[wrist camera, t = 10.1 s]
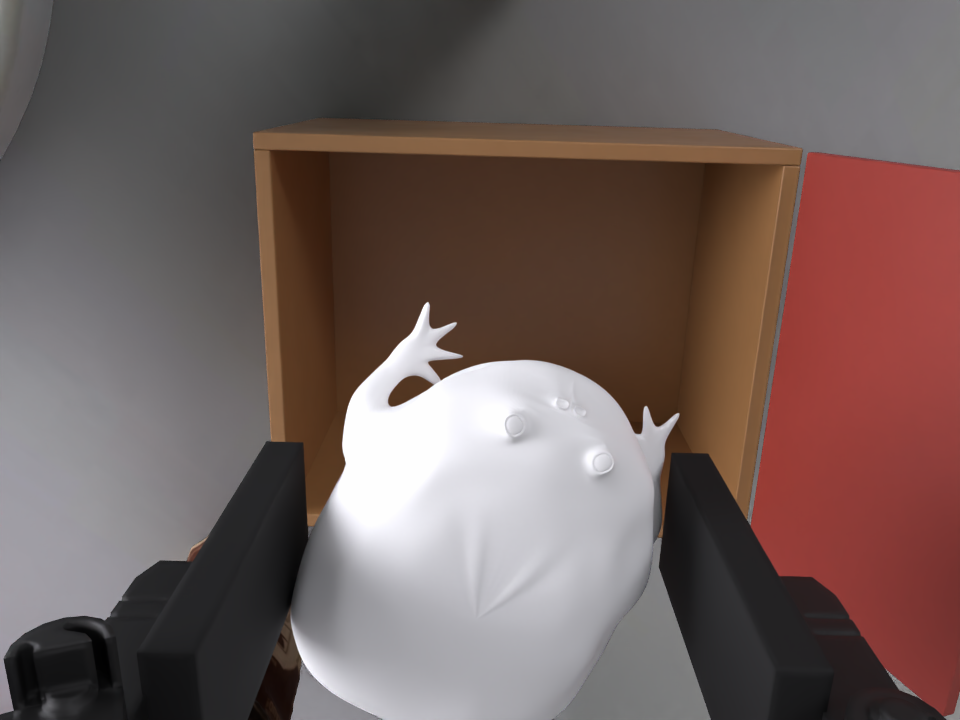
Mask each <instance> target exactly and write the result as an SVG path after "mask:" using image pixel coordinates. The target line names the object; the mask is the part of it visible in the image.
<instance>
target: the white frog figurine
mask: <svg viewBox="0 0 960 720" xmlns="http://www.w3.org/2000/svg"><path fill="white" fill-rule="evenodd" d="M429 311H430V305H429V303H428V302H427V303H426V304H425V305H424V307H423V309H422V312H421V314H420V317H419V319H418V321H417V324H416V326H415V328H414V330H413V332H412V333H411V334H410V335H409V336H408V337H407V338H405V339H404V340H403V341H402V342H401V343H400V344H399V345H398V346H397V347H396V348H395V349H394V351H393V352H392V353H391V355H390V356H389V357H388V359H387V360H386V361H385V362H384V363H383V364H381V365H380V366H379V367H378V368H377V369H376V370H375V371H374V372H373V373H372V374H371V375H370V376H369V377H368V378H367V379H366V380H365V381H364V382H363V383H362V384H361V385H360V386H359V387H358V389H357V390H356V391H355V393H354V394H353V396H352V398H351V400H350V403H349V406H348V409H347V414H346V419H345V425H344V432H343V442H342V448H343V454H344V457H345V462H346V465H345V467H344V471H343V473H342V474H341V476H340V478H339V480H338V481H337V483H336V485H335V487H334V489H333V491H332V493H331V495H330V497H329V499H328V501H327V503H326V504H325V506H324V508H323V510H322V511H321V513H320V515H319V517H318V519H317V521H316V523H315V525H314V527H313V530H312V532H311V534H310V537H309V539H308V542H307V545H306V548H305V551H304V554H303V557H302V560H301V564H300V567H299V571H298V575H297V579H296V583H295V587H294V591H293V596H292V601H291V625H292V630H293V635H294V639H295V642H296V645H297V648H298V651H299V654H300V656H301V658H302V660H303V662H304V664H305V665H306V667H307V668H308V670H309V671H310V672H311V674H312V675H313V676H314V677H315V678H316V679H317V680H318V681H319V682H320V683H321V684H322V685H323V686H324V687H325V688H327V689H328V690H329V691H331V692H332V693H333V694H335V695H336V696H338V697H340V698H341V699H343V700H345V701H346V702H348V703H350V704H352V705H354V706H356V707H358V708H360V709H362V710H365V711H367V712H369V713H371V714H373V715H375V716H377V717H379V718H382V719H384V720H552V719H554V718H555V717H556V716H557V715H558V714H560V713H561V712H562V711H563V710H564V709H565V708H566V707H567V706H568V705H569V704H570V702H571V701H572V700H573V699H574V697H575V696H576V695H577V693H578V692H579V690H580V688H581V687H582V685H583V684H584V682H585V680H586V679H587V677H588V676H589V674H590V672H591V671H592V669H593V668H594V666H595V664H596V663H597V661H598V660H599V658H600V656H601V655H602V653H603V651H604V649H605V647H606V646H607V644H608V642H609V640H610V637H611V635H612V633H613V631H614V629H615V628H616V626H617V624H618V623H619V622H620V620H621V619H622V618H623V617H624V616H625V615H626V614H627V612H628V611H629V610H630V609H631V608H632V607H633V606H634V605H635V603H636V602H637V601H638V600H639V598H640V597H641V595H642V593H643V591H644V589H645V587H646V585H647V582H648V579H649V575H650V570H651V564H652V555H653V544H654V542H655V540H656V539H657V537H658V535H659V533H660V530H661V526H662V502H661V487H660V477H661V473H662V469H663V464H664V459H665V448H664V447H665V442H666V439H667V437H668V435H669V433H670V432H671V430H672V428H673V427H674V425H675V423H676V421H677V420H678V418H679V415H680V414H679V413H677V414H675V415H674V416H673V417H671V418H670V419H669V420H668V421H667V422H666V423H664V424H663V425H661V426H659V427H656V426H655V425H654V423H653V421H652V419H651V416H650V412H649V410H648V407H647V406H645V407H644V411H643V429H642V433H641V434H635V433H634V431H633V429H632V427H631V425H630V423H629V421H628V419H627V417H626V415H625V413H624V412H623V410H622V409H621V407H620V406H619V404H618V403H617V402H616V401H615V400H614V398H613V397H612V396H611V395H610V394H609V393H608V392H607V391H605V390H604V389H603V388H602V387H601V386H599V385H598V384H596V383H595V382H593V381H592V380H590V379H588V378H587V377H585V376H583V375H581V374H579V373H577V372H575V371H572V370H570V369H568V368H565V367H562V366H559V365H556V364H552V363H548V362H543V361H536V360H516V361H497V362H489V363H484V364H479V365H475V366H472V367H469V368H466V369H463V370H461V371H459V372H456V373H454V374H452V375H450V376H448V377H446V378H444V379H443V380H440V378H439V376H438V375H437V374H436V372H435V371H434V370H433V369H432V368H431V367H430V365H429V364H428V362H429V361H433V360H446V359H458V358H462V357H463V356H462V355H460V354H456V353H452V352H448V351H445V350H442V349H440V348H438V347H437V346H436V343H437V342H438V341H439V339H441V338H442V337H443V336H444V335H446V334H447V333H448V332H449V331H451V330H452V329H453V328H454V327H455V326H456V324H457V323H456V322H455V323H451V324H449V325H446V326H444V327H441V328H437V329H432V328H431V327H430V325H429ZM413 375H416V376H420V377H422V378H424V379H426V380H428V381H429V382H431V383H432V384H434V385H433V386H432V387H431V388H429V389H428V390H427V391H425V392H423V393H421V394H420V395H418V396H416V397H414V398H413V399H411V400H409V401H407V402H405V403H403V404H401V405H398V406H394V407H391V406H389V404H388V398H389V395H390V393H391V392H392V390H393V389H394V388H395V387H396V386H397V384H398V383H399V382H400V381H401V380H403V379H404V378H406V377H408V376H413Z"/></svg>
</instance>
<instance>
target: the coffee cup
mask: <svg viewBox="0 0 960 720" xmlns="http://www.w3.org/2000/svg"><path fill="white" fill-rule="evenodd" d="M208 536H209V535H208ZM206 539H207V537H206V538H205V539H204V540H202V541H201V542H199V543H198V544H196V545H194V546H193V547H192V548H191V550H190V553H189V556H188V559H187V561H193V560H194V558H195V557H196V555H197V554H198V552H199V550H200V549H201V547H202V545H203V544H204V542H205V541H206ZM301 660H302V658H301V656H300V654H299V651H298V648H297V645H296V642H295V639H294V635H293V630H292V625H291V607H290V609H289V612H288V614H287V617H286V620H285V622H284V625H283V628H282V630H281V633H280V636H279V638H278V641H277V643H276V646H275V649H274V651H273V654H272V657H271V659H270V662H269V665H268V667H267V670H266V672H265V675H264V678H263V680H262V683H261V686H260V688H259V691H258V694H257V696H256V699H255V701H254V704H253V707H252V709H251V712H250V715H249V717H248V720H290V719H291V715H292V712H293V703H294V699H295V695H296V692H297V687H298V683H299V680H300V668H301Z"/></svg>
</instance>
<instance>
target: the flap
mask: <svg viewBox="0 0 960 720" xmlns="http://www.w3.org/2000/svg"><path fill="white" fill-rule="evenodd" d="M751 528H752V530H753V532H754V533H755V535H756V537H757V539H758V540H759V542H760V544H761V546H762V547H763V549H764V551H765V552H766V554H767V556H768V558H769V559H770V561H771V563H772V565H773V566H774V568H775V570H776V572H777V573H778V575H779V576H801V577H813V578H814V579H815V580H817V581H818V582H819V583H821V584H822V585H823V586H825V587H826V588H827V589H829V590H830V591H831V592H832V593H834V594H835V595H836V596H837V598H838V599H839V601H840V602H841V604H842V605H843V607H844V608H845V610H846V611H847V613H848V614H849V618H850V619H852V620H853V622H854V623H855V625H856V626H857V628H858V629H859V631H860V634H861V636H863V637H864V638H865V640H866V641H867V643H868V644H869V646H870V647H871V649H872V650H873V652H874V653H875V655H876V656H877V658H878V659H879V661H880V662H881V664H882V665H883V667H884V668H885V669H886V670H888V671H889V672H890V673H891V674H892V675H894V676H895V677H896V678H897V679H898V680H899V681H901V682H902V683H903V684H904V685H905V686H907V687H908V688H909V689H910V690H911V691H912V692H914V693H915V694H916V695H917V696H918V697H920V698H921V699H922V700H923V701H924V702H926V703H927V704H929V705H930V706H932V707H934V708H935V709H936V710H937V711H938V712H939V713H940V714H941V715H942V716H943V717H944V716H947V715H951V714H953V713H954V711H955V707H956V703H957V700H958V696H959V692H960V170H952V169H944V168H936V167H929V166H921V165H913V164H905V163H897V162H890V161H882V160H874V159H866V158H859V157H851V156H843V155H835V154H827V153H820V152H809V153H808V155H807V161H806V168H805V175H804V181H803V188H802V194H801V201H800V207H799V214H798V220H797V227H796V233H795V240H794V246H793V253H792V259H791V266H790V272H789V279H788V286H787V292H786V299H785V305H784V312H783V318H782V325H781V331H780V338H779V344H778V351H777V357H776V364H775V370H774V377H773V384H772V390H771V397H770V403H769V410H768V416H767V423H766V429H765V436H764V442H763V449H762V455H761V462H760V468H759V475H758V481H757V488H756V495H755V501H754V508H753V514H752V521H751Z"/></svg>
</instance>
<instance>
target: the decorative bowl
mask: <svg viewBox="0 0 960 720" xmlns="http://www.w3.org/2000/svg"><path fill="white" fill-rule="evenodd" d="M52 9H53V0H0V160H1V158H2V157H3V155H4V153H5V151H6V149H7V148H8V146H9V144H10V142H11V140H12V138H13V137H14V135H15V133H16V131H17V129H18V126H19V124H20V122H21V119H22V117H23V115H24V113H25V110H26V108H27V106H28V103H29V101H30V99H31V96H32V93H33V90H34V87H35V84H36V81H37V78H38V75H39V72H40V68H41V64H42V60H43V56H44V52H45V48H46V43H47V39H48V34H49V27H50V21H51V15H52Z"/></svg>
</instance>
